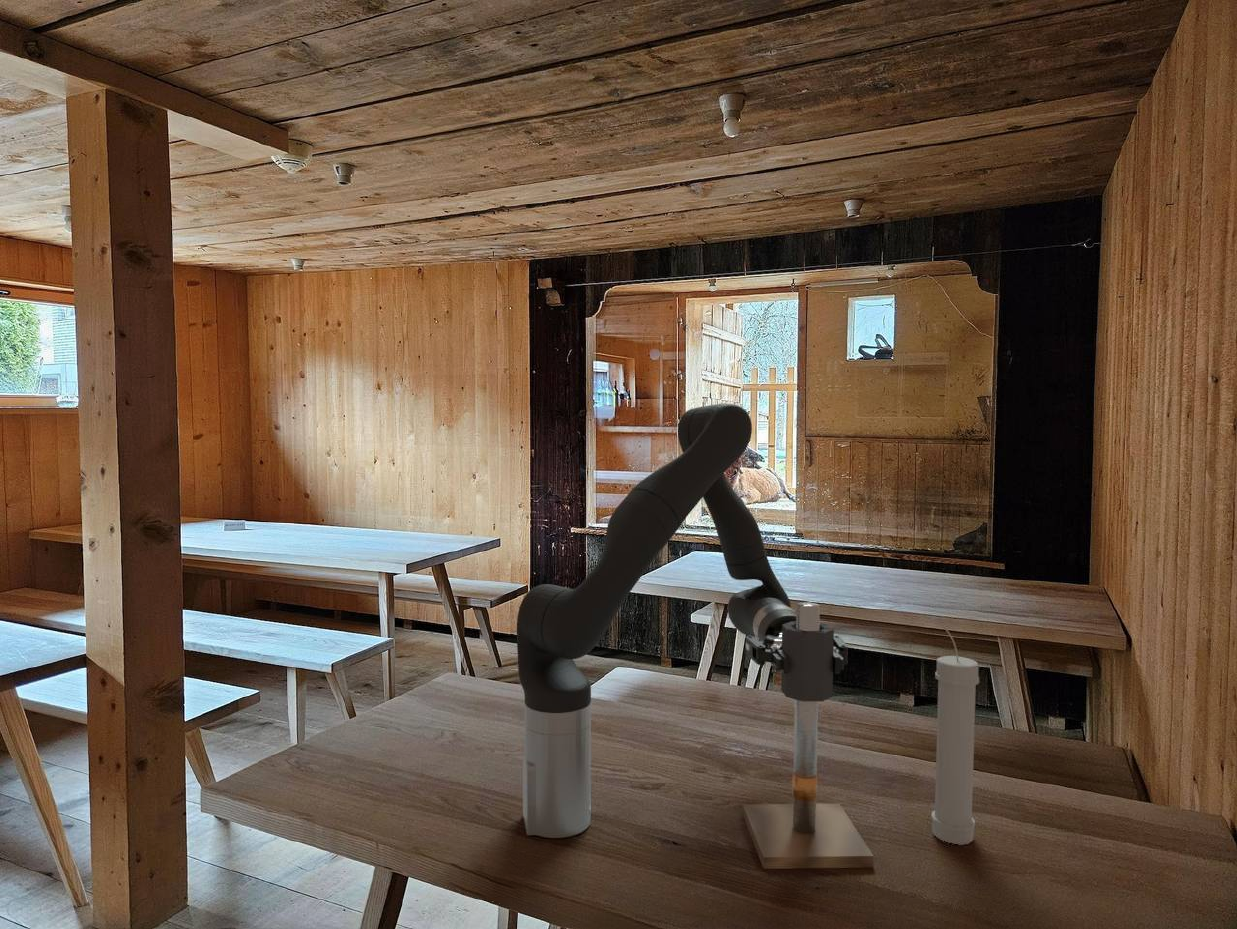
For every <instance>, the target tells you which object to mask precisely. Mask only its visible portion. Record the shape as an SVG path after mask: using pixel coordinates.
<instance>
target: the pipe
mask: <svg viewBox="0 0 1237 929" xmlns="http://www.w3.org/2000/svg"><path fill="white" fill-rule="evenodd" d="M930 619H932V620H933V621H935V623H937V624H938V625H940V626H941V627H942V629H943V630H945V632H946V633H947V634H948V636H949V637H950V639H951V642H952V644H953V646H954V651H955V655H944V656H940V657H938V658H937V659H936V671H935V673H934V675H935V676H934V679H935V680H938V682H937V684H938V685H937V690H938V691H937V717H936V718H937V720H936V750H935V752H936V757H935V758H936V759H935V760H936V761H935V763H936V764H935V791H934V792H935V793H934V794H935V795H934V799H935V800H934V810H933V811H931V819H930V820H931V822H932V826H931V827H932V828H931V830H932V831H931V832H932V834H933V835H934V837H935V836H936V837H937V838H936V837H935V838H936V839H938V838H939V839H940V840H939V839H938V840H939V841H941V840H942V841H941V842H944V841H945V842H944V843H946V842H948V843H947V844H949V843H953V844H952V845H954V844H958V845H957V846H966V845H970V844H971V843H972V842H973V841H974V832H975V831H974V829H975V828H976V820H975V818H973V793H974V792H973V791H974V790H973V789H974V787H973V786H974V782H973V781H974V759H975V758H974V753H975V749H974V748H975V725H976V724H975V723H976V722H975V720H976V718H975V717H976V715H975V714H976V692H977V691H976V687H977V685H979V684H980V676H979V663H978V662H977V661H975V660H974V659H971V658H967V657H964V656H959V654H958V649H957V644H956V642H955V640H954V638H953V636H952V634H951V632H950V631H949V630H948V629H947V628H946V627H945V626H944V625H943V624H942V623H941V622H940V621H939V620H937V619H936V618H934V617H930ZM970 842H971V843H970ZM969 843H970V844H969ZM965 844H966V845H965Z"/></svg>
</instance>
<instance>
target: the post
mask: <svg viewBox="0 0 1237 929" xmlns="http://www.w3.org/2000/svg"><path fill="white" fill-rule="evenodd" d="M820 611H821V605H820V604H818V603H815V602H797V603H796V611H795V612H796V629H798V630H803V631H819V623H820V622H821V621H820V620H821V619H820V617H821V616H820V615H821V613H820ZM818 712H819V701H805V702H803V701H799V700H796V699H794V726H793V728H794V729H793V730H794V731H793V732H794V734H793V735H794V737H793V738H794V739H793V746H794V747H793V771H792V787H791V788H792V790H791V791H792V792H791V793H792V794H791V795H792V803H755V804H753V803H752V804H751V803H749V804H745V803H744V804H742V816H743V819H744V822H745V825H746V828H747V830H748V832H749V835H750V837H751V840H752V843H753V846H754V848H755V851H756V853H757V856H758V858H759V861H760V863H761V866H762V869H765V870H769V869H771V870H773V869H777V870H779V869H781V870H782V869H784V870H785V869H790V870H792V869H846V868H847V869H853V868H857V869H859V868H865V869H866V868H874V854H873V853H872V851H871V850H870V848H869V847H868V845H867V844H866V842H865V840H864V839H863V838H862V836H861V835H860V833H859V831H858V830H857V828H856V826H854V823H853V822H852V820H851V819H850V818H849V816H848V814H847V813H846V811H845V810H844V808H843V807H842V805H841V804H840V803H817V799H818V774H817V773H818V769H817V766H818V765H817V764H818V722H819V721H818V720H819V718H818V716H819V713H818Z"/></svg>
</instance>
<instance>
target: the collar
mask: <svg viewBox="0 0 1237 929" xmlns="http://www.w3.org/2000/svg"><path fill="white" fill-rule="evenodd" d="M834 634H835V629H834V627H832V626H830V625H829V624H827V623H821V622H819V631H803V630H798V629H796V621H792V622H789V623H786V624H783V625H782V650H783V652H784V653H785V654H786V655H787V656H788V658H789V672H788V673H782V672H781V674H780V675H781V678H780V679H781V680H780V681H781V684H780V685H781V688H780V691H781V693H783V695H784V696H785V697H786V698H788V699H789V698H790V699H792V700H795V699H796V700H799V701H803V702H805V701H818V702H824V701H827V700H829V699H831V698H832V697H833V686H834V683H833V681H834V672H833V644H834V636H835V635H834Z"/></svg>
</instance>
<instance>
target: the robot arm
mask: <svg viewBox="0 0 1237 929" xmlns="http://www.w3.org/2000/svg"><path fill="white" fill-rule="evenodd" d="M752 427H753V425H752V420H751V416H750V414H749V413H748V411H747V410H746V409H745V408H743V407H742V406H740V405H738V404H735V403H727V402H726V403H725V402H724V403H717V404H710V405H704V406H698V407H694V408H690V409H688V410H686V411H685V412H684V413H683V414H682V416H681V417H680V419H679V422H678V424H677V437H678V439H677V440H678V442H679V446H680V449H681V451H682V454H680V455H679V456H678V457H676V458H674V459H673V460H671V461H669V462H668V463H666V464H664V465H663V466H661V467H660V468H659V469H658V468H657V469H656V471H654V472H652V473H650V474H649V475H647V476H646V477H645V478H643V479H642V480H641V481H640V482H638V483H637V484H636V485H635V486H634V487H633V488H632V489H631V490H630V491H629V493H627V495H626V496H625V498H624V499H622V501H621V502H620V503H619V504H618V505H617V507H616V508H615V510H613V513H612V514H611V516H610V518H609V520H608V524H607V525H606V526H607V528H606V533H605V539H604V546H603V547H604V548H603V551H602V552H603V553H602V555H601V557H600V560H599V561H598V563H597V564H596V566H595V567H594V568H593V569H592V570H591V572H589V574H588V576H587V577H586V578H585V579H584V580H583V581H582V582H581V583H580V584H579V585H578V586H576V588H574V589H573V588H569V587H564V586H561V585H555V584H550V583H545V584H539V585H537V586H534V587H532V588H531V589H530V590H529V591H528V592H526V594H525V595H524V597H523V599H522V601H521V603H520V605H519V607H518V612H517V617H516V618H517V619H516V647H517V667H518V678H519V679H518V680H519V682H520V685H521V688H522V690H523V693H524V750H523V751H522V817H523V822H524V827H525V828H524V829H525V833H526V836H539V837H542V838H547V839H549V838H550V839H561V838H562V839H563V838H569V837H574V836H576V835H578V834H581V833H583V832H584V831H585V830H586V829H588V827H589V826H590V824H591V812H592V811H591V810H592V809H591V808H592V805H591V804H592V803H591V794H592V792H591V784H592V783H591V782H592V780H591V775H592V774H591V773H592V771H591V770H592V769H591V768H592V763H591V762H592V760H591V759H592V758H591V757H592V755H591V754H592V753H591V752H592V745H591V744H592V736H591V735H592V733H591V732H592V714H591V713H592V687H591V682H590V680H589V679H588V677H587V676H586V675H585V674H584V673H583V672H582V671H581V670H580V669H579V667H578V666H577V664H576V663H575V661H574V660H576V659H580V658H583V657H585V656H586V655H588V654H589V653H590V652H591V651H592V650H593V649H594V648H595V647H596V645H597V644H598V643H599V642H600V641H601V639H602V638H603V636H604V634H605V633H606V632H607V630H608V628H609V627H610V625H611V624H612V622H613V620H614V618H615V616H616V615H617V614H618V612H619V610H620V609H621V607H622V606H623V605H624V602H625V600H626V599H627V597H628V595H629V594H630V593H631V592H632V590H633V588H634V587H635V586H636V584H637V583H638V581H639V580H640V579H641V578H642V576H643V575H644V573H645V572H646V570H648V568H649V567H650V565H651V563H652V562H653V561H654V560H655V559H656V557H657V556H658V555H659V553H660V552H661V551H662V550H663V549H664V548H665V547H666V546H667V544H668V543H669V541H670V540H671V539H672V538H673V537H674V536H675V534H676V533H677V531H678V530H679V529H680V527H681V526H682V524H683V523H684V521H685V520H686V518H687V517H688V516H689V515H690V514H691V512H692V511H693V509H695V507H696V506H697V505H698V504H699V502H701V500H702V498H703V500H704V503H705V504H706V507H707V509H708V512H709V514H710V517H711V519H712V522H713V524H714V526H715V529H716V533H717V537H718V540H719V544H720V547H721V551H722V554H723V559H724V561H725V565H726V569H727V571H728V574H729V576H730V577H731V578H732V579H734V580H739V581H746V580H747V581H748V580H749V581H750V580H756V581H760V582H761V583H762V584H761V585H757V586H755V587H751V588H748V589H745V590H742V591H738V592H736V593H734V594H733V595H732V596H731V597H730V598H729V600H728V603H727V613H728V614H727V615H728V618H729V620H730V622H731V623H732V625H733V626H734V628H735V629H736V630H737V631H738V632H740V633H741V634H743V635H745V636H746V637H745V655H746V656H748V658H750V659H751V660H752V661H753V662H754V663H755V664H756V665H759V666H765V665H766V663H770V666H772V667H775V669H776V670H778V671H780V672H781V673H788V672H789V658H788V656H787V655H786V654H785V653H784V652H783V650H782V625H783V624H786V623H789V622H792V621H796V612H797V611H796V610H794V609H793V608H792V604H791V602H790V598H789V596H788V594H787V593H786V591H785V590H784V588H783V586H782V585H781V583H780V582H779V580H778V578H777V577H776V575H775V573H774V571H773V569H772V566H771V564H770V561H769V559H768V556H767V552H766V548H765V544H764V541H763V537H762V533H761V530H760V527H759V524H758V522H757V521H756V519H755V516H753V513H752V512H751V511H750V509H749V508H748V507H747V506H746V504H745V503H744V502H743V500H742V499H741V498H740V496H739V495H738V494H737V492H736V491H735V490H734V489H733V487H732V485H731V483H730V481H729V480H728V479H727V478H728V477H727V476H726V474H725V473H726V472H727V471H728V470H729V468H730V467H732V465H734V464H735V462H736V461H738V459H739V458H741V456H742V455H743V454H744V453H745V451H746V449H747V448H748V445H749V443H750V441H751V438H752V433H753V428H752ZM848 649H849V646H848V644H847V643H846V641H845V640H844V639H843V638H842V637H841V636H840V635H836V634H835V635H834V644H833V674H841V671H843V670H844V666H846V665H848Z"/></svg>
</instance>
